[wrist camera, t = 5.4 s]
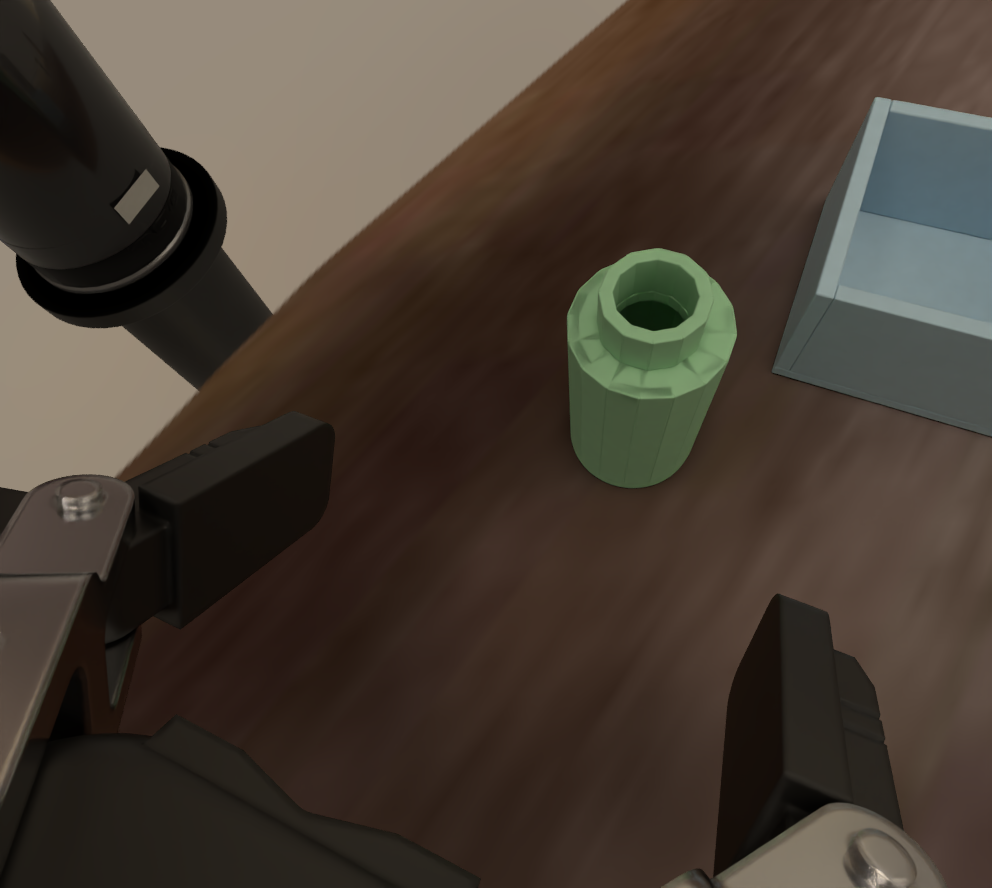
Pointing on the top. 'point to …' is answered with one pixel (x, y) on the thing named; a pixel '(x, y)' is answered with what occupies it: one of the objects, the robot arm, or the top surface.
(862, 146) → the case
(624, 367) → the bottle
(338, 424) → the top surface
